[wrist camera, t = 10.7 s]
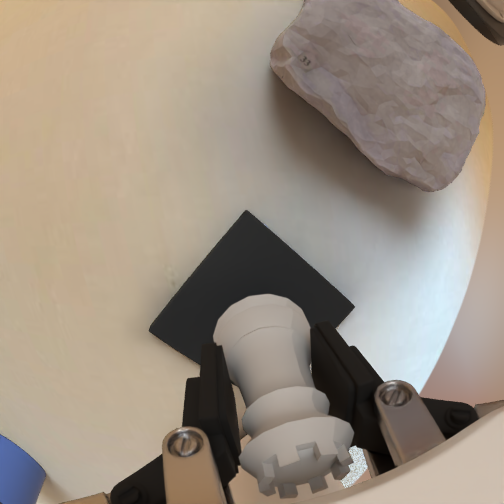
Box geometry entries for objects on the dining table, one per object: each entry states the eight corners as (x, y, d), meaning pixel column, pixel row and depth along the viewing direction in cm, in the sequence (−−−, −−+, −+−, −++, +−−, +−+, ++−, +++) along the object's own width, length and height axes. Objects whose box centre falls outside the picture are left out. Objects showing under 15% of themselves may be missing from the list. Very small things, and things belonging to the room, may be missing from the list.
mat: (246, 209, 13) (247, 210, 13) (351, 302, 15) (355, 307, 15) (149, 325, 14) (147, 331, 13) (259, 393, 16) (260, 399, 15)
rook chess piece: (241, 272, 12) (282, 412, 4) (323, 312, 13) (416, 431, 5) (197, 350, 13) (191, 501, 5) (275, 379, 14) (318, 509, 6)
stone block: (406, 198, 16) (459, 85, 12) (449, 221, 11) (505, 81, 8) (241, 99, 14) (315, -19, 10) (237, 84, 9) (334, -57, 6)
